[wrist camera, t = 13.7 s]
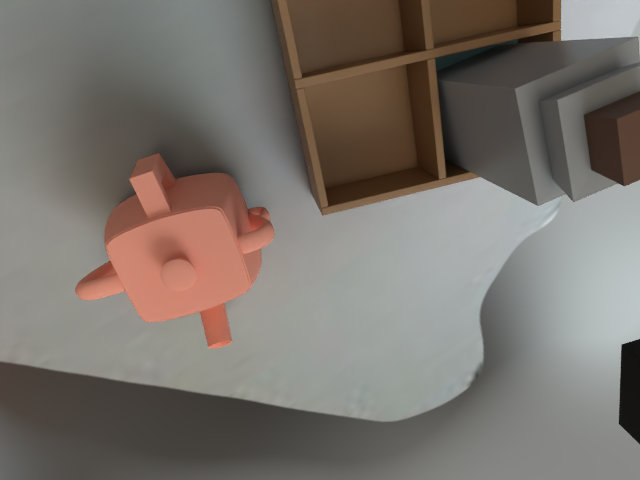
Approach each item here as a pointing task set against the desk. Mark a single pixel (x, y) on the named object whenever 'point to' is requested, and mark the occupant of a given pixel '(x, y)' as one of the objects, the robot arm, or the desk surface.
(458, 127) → the perfume bottle
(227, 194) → the teapot
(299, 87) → the bottle tray
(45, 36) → the desk surface
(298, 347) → the desk surface
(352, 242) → the desk surface
